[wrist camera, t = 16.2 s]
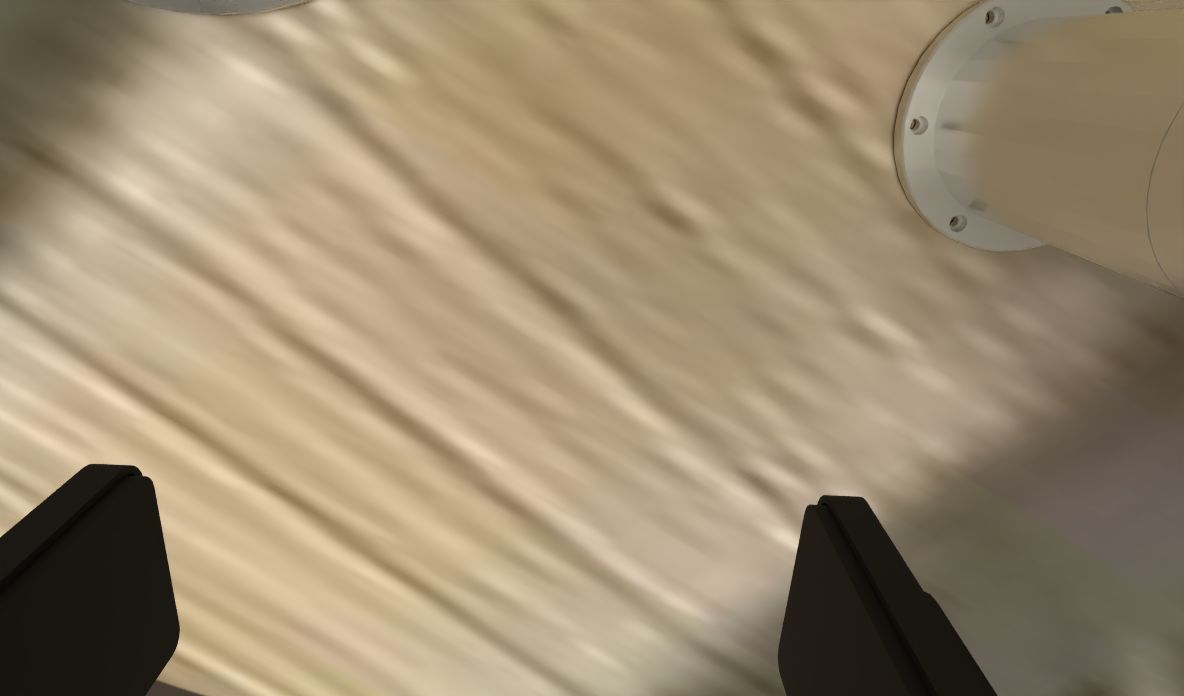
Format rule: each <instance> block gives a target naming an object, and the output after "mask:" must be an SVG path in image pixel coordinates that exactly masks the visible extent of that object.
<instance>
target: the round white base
mask: <svg viewBox="0 0 1184 696" xmlns="http://www.w3.org/2000/svg"><path fill="white" fill-rule="evenodd" d="M127 1H130V2H133V3H138V4H142V5H147V6H152V7H157V8H162V9H167V10H172V11H178V12H188V13H203V14H218V15H236V14H249V13H263V12H270V11H274V10H279V9H283V8H288V7H292V6H296V5H301V4H305V3H308V2H310V1H313V0H127Z"/></svg>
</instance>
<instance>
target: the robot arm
mask: <svg viewBox="0 0 1184 696" xmlns="http://www.w3.org/2000/svg"><path fill="white" fill-rule="evenodd" d="M987 13H988V14H989V17H990V18H989V21H988V22H987V23H986V21H985V17H986V14H987ZM913 119H914V120H915V121H916V125H915V127H914V128H913V129H910V124H911V122H912V120H913ZM894 156H895V161H896V166H897V171H898V176H899V180H900V182H901V184H902V187H903V189H904V192H905V194H906V196H907V199H908V200H909V201H910V203H911V204H912V206H913V207H914V208H915V210H916V211H917V213H918V214H919V216H920V217H921V218H923V219H924V220H925V221H926V222H927V223H928V224H929V225H930V226H932V227H933V228H934V229H935V230H936V231H938V232H940V233H942V234H943V235H945V236H947V237H949V238H950V239H952V240H955V241H957V242H959V243H962V244H964V245H967V246H969V247H971V248H976V249H982V250H987V251H992V252H1016V251H1022V250H1027V249H1032V248H1037V247H1041V246H1044V245H1047V244H1049V245H1051V246H1054V247H1056V248H1059V249H1061V250H1064V251H1066V252H1069V253H1071V254H1074V255H1076V256H1079V257H1081V258H1083V259H1086V260H1088V261H1091V262H1093V263H1096V264H1098V265H1101V266H1103V267H1106V268H1108V269H1110V270H1113V271H1115V272H1118V273H1120V274H1123V275H1125V276H1128V277H1130V278H1133V279H1135V280H1138V281H1140V282H1142V283H1145V284H1147V285H1150V286H1152V287H1155V288H1157V289H1160V290H1162V291H1164V292H1167V293H1169V294H1172V295H1174V296H1177V297H1179V298H1182V299H1184V8H1181V9H1166V10H1152V11H1138V12H1136V11H1135V10H1134V9H1133V8H1132V7H1131V6H1130V5H1129V4H1128V3H1126V2H1125V1H1123V0H982V1H981V2H979V3H977V4H976V5H974V6H973V7H971V8H970V9H968V10H967V11H965V12H963V13H962V14H961V15H960V16H958V17H957V18H956V19H955V20H954V21H953V22H952V23H951V24H950V25H948V26H947V27H946V28H945V29H944V30H943V31H942V32H941V33H940V34H939V35H938V36H937V38H936V39H935V40H934V41H933V43H932V44H931V45H930V46H929V48H928V49H927V50H926V51H925V53H924V54H923V55H922V57H921V58H920V60H919V62H918V64H917V65H916V67H915V69H914V71H913V73H912V74H911V76H910V78H909V80H908V82H907V85H906V88H905V90H904V93H903V96H902V99H901V101H900V104H899V108H898V114H897V119H896V125H895V130H894ZM953 217H954V221H953V222H952V223H951V224H949V223H950V221H951V219H952V218H953ZM179 633H180V627H179V620H178V615H177V609H176V604H175V598H174V593H173V587H172V582H171V576H170V571H169V565H168V560H167V554H166V549H165V543H164V538H163V532H162V527H161V521H160V516H159V510H158V505H157V499H156V494H155V488H154V485H153V482H152V480H151V479H150V478H149V477H147V476H142V473H141V471H140V470H139V469H138V468H137V467H135V466H131V465H108V464H89V465H87V466H86V467H84V468H82V469H81V470H80V471H79V472H78V473H76V474H75V475H74V476H73V477H72V478H70V479H69V480H68V481H67V482H66V483H65V484H63V485H62V486H61V487H60V488H59V489H57V490H56V491H55V492H54V493H53V494H51V495H50V496H49V497H48V498H47V499H46V500H44V501H43V502H42V503H41V504H40V505H38V506H37V507H36V508H35V509H34V510H32V511H31V512H30V513H29V514H28V515H26V516H25V517H24V518H23V519H22V520H21V521H19V522H18V523H17V524H16V525H15V526H13V527H12V528H11V529H10V530H9V531H7V532H6V533H5V534H4V535H3V536H2V537H0V696H145V695H146V694H147V692H148V691H149V689H150V688H151V686H152V685H153V683H154V682H155V681H156V679H157V678H158V676H159V675H160V673H161V672H162V670H163V669H164V667H165V666H166V664H167V663H168V661H169V660H170V658H171V657H172V655H173V653H174V652H175V649H176V647H177V644H178V640H179ZM778 665H779V672H780V676H781V679H782V682H783V685H784V688H785V691H786V695H787V696H997V694H996V693H995V691H994V690H993V688H992V686H991V685H990V683H989V682H988V680H987V679H986V677H985V676H984V674H983V672H982V671H981V669H980V668H979V666H978V665H977V663H976V662H975V660H974V659H973V657H972V655H971V654H970V652H969V651H968V649H967V648H966V646H965V645H964V643H963V642H962V640H961V638H960V637H959V635H958V634H957V632H956V631H955V629H954V628H953V626H952V624H951V623H950V621H949V620H948V618H947V617H946V615H945V614H944V612H943V611H942V609H941V607H940V606H939V604H938V603H937V602H936V600H935V599H934V598H933V597H932V596H931V595H930V594H928V593H926V592H924V591H923V590H922V588H921V586H920V585H919V583H918V582H917V580H916V579H915V577H914V575H913V574H912V572H911V571H910V569H909V568H908V566H907V564H906V563H905V561H904V560H903V558H902V556H901V555H900V553H899V552H898V550H897V549H896V547H895V545H894V544H893V542H892V541H891V539H890V538H889V536H888V534H887V533H886V531H885V530H884V528H883V527H882V525H881V523H880V522H879V520H878V519H877V517H876V515H875V514H874V512H873V511H872V509H871V508H870V506H869V504H868V503H867V501H866V500H865V499H864V498H862V497H853V496H830V495H823V496H822V497H820V499H819V501H818V504H817V505H808V506H807V508H806V510H805V514H804V519H803V524H802V529H801V534H800V539H799V545H798V550H797V555H796V560H795V565H794V570H793V576H792V581H791V586H790V591H789V596H788V602H787V607H786V612H785V617H784V622H783V627H782V633H781V638H780V643H779V649H778Z"/></svg>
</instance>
